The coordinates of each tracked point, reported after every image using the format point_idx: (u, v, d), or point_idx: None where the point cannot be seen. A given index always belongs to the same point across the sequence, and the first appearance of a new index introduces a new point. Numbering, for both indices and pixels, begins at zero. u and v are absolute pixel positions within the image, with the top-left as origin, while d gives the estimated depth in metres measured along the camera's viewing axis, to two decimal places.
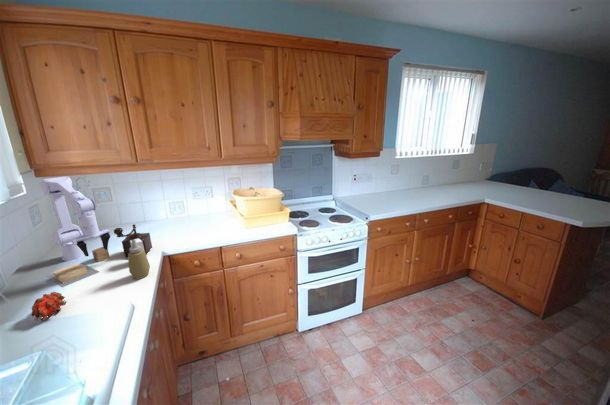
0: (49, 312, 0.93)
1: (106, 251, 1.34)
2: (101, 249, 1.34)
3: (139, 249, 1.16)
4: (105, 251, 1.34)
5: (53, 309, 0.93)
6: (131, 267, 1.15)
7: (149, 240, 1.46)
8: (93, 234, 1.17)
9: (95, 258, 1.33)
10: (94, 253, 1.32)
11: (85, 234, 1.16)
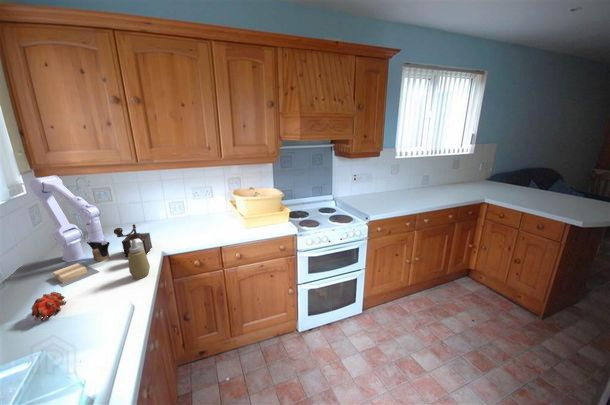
0: (49, 312, 0.93)
1: None
2: None
3: (139, 249, 1.16)
4: None
5: (53, 309, 0.93)
6: (131, 267, 1.15)
7: (149, 240, 1.46)
8: (89, 239, 1.30)
9: (95, 258, 1.33)
10: (94, 253, 1.32)
11: None
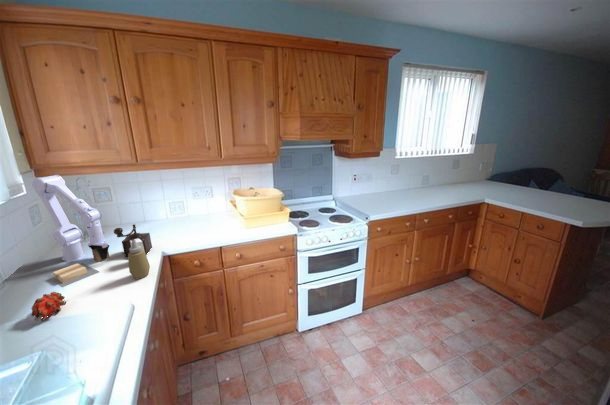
0: (49, 312, 0.93)
1: None
2: None
3: (139, 249, 1.16)
4: None
5: (53, 309, 0.93)
6: (131, 267, 1.15)
7: (149, 240, 1.46)
8: (90, 242, 1.30)
9: (95, 258, 1.33)
10: (94, 253, 1.32)
11: None
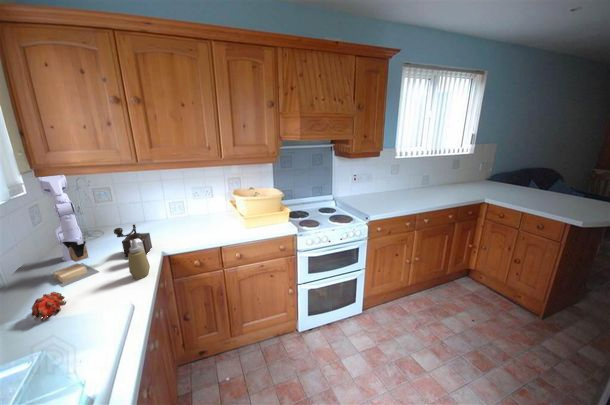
0: (49, 312, 0.93)
1: (84, 249, 1.22)
2: None
3: (139, 249, 1.16)
4: None
5: (53, 309, 0.93)
6: (131, 267, 1.15)
7: (149, 240, 1.46)
8: (64, 238, 1.18)
9: (71, 256, 1.21)
10: (70, 251, 1.20)
11: None
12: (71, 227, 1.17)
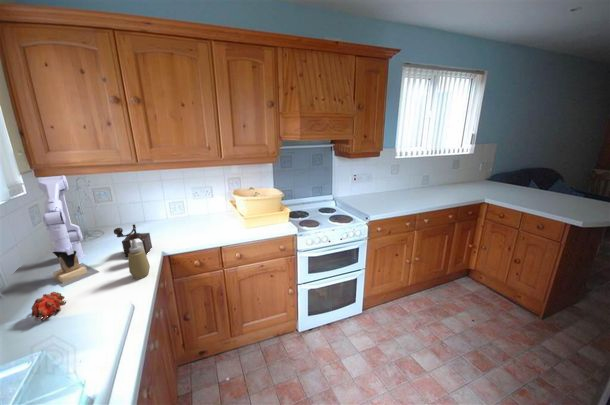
0: (49, 312, 0.93)
1: (75, 259, 1.18)
2: None
3: (139, 249, 1.16)
4: (74, 259, 1.18)
5: (53, 309, 0.93)
6: (131, 267, 1.15)
7: (149, 240, 1.46)
8: (54, 248, 1.14)
9: (62, 266, 1.17)
10: (61, 261, 1.16)
11: None
12: (59, 237, 1.12)
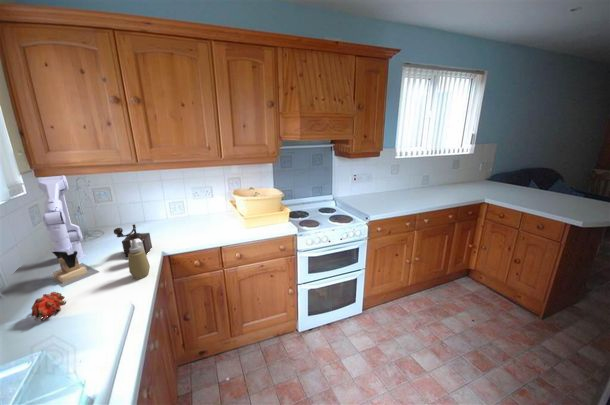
0: (49, 312, 0.93)
1: (75, 259, 1.18)
2: None
3: (139, 249, 1.16)
4: None
5: (53, 309, 0.93)
6: (131, 267, 1.15)
7: (149, 240, 1.46)
8: (54, 248, 1.14)
9: (62, 267, 1.17)
10: (61, 262, 1.16)
11: None
12: (59, 237, 1.12)
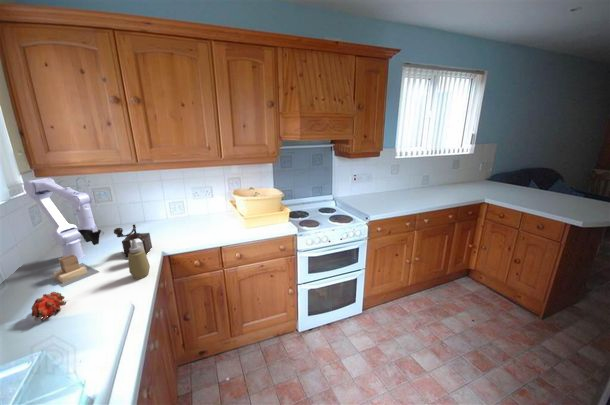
0: (49, 312, 0.93)
1: (75, 259, 1.18)
2: (69, 257, 1.18)
3: (139, 249, 1.16)
4: (74, 259, 1.18)
5: (53, 309, 0.93)
6: (131, 267, 1.15)
7: (149, 240, 1.46)
8: (80, 226, 1.26)
9: (62, 267, 1.17)
10: (61, 262, 1.16)
11: None
12: (90, 215, 1.27)
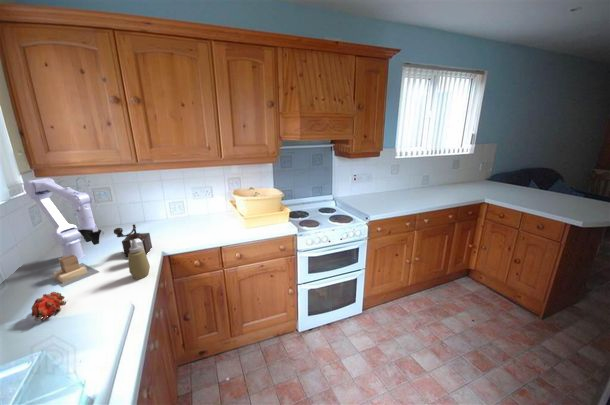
0: (49, 312, 0.93)
1: (75, 259, 1.18)
2: (69, 257, 1.18)
3: (139, 249, 1.16)
4: (74, 259, 1.18)
5: (53, 309, 0.93)
6: (131, 267, 1.15)
7: (149, 240, 1.46)
8: (80, 226, 1.27)
9: (62, 267, 1.17)
10: (61, 262, 1.16)
11: None
12: (90, 215, 1.27)
